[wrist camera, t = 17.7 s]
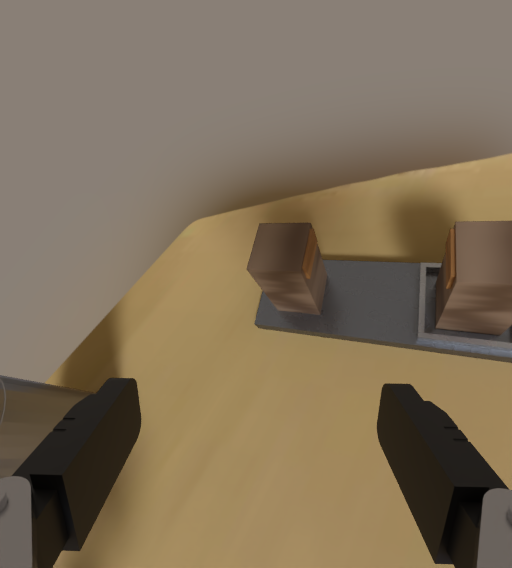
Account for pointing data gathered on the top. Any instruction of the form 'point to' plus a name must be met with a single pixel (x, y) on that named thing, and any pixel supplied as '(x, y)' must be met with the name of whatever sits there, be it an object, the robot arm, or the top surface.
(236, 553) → the top surface
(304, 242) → the block
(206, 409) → the top surface
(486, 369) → the top surface
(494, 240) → the walnut finger
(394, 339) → the rail
